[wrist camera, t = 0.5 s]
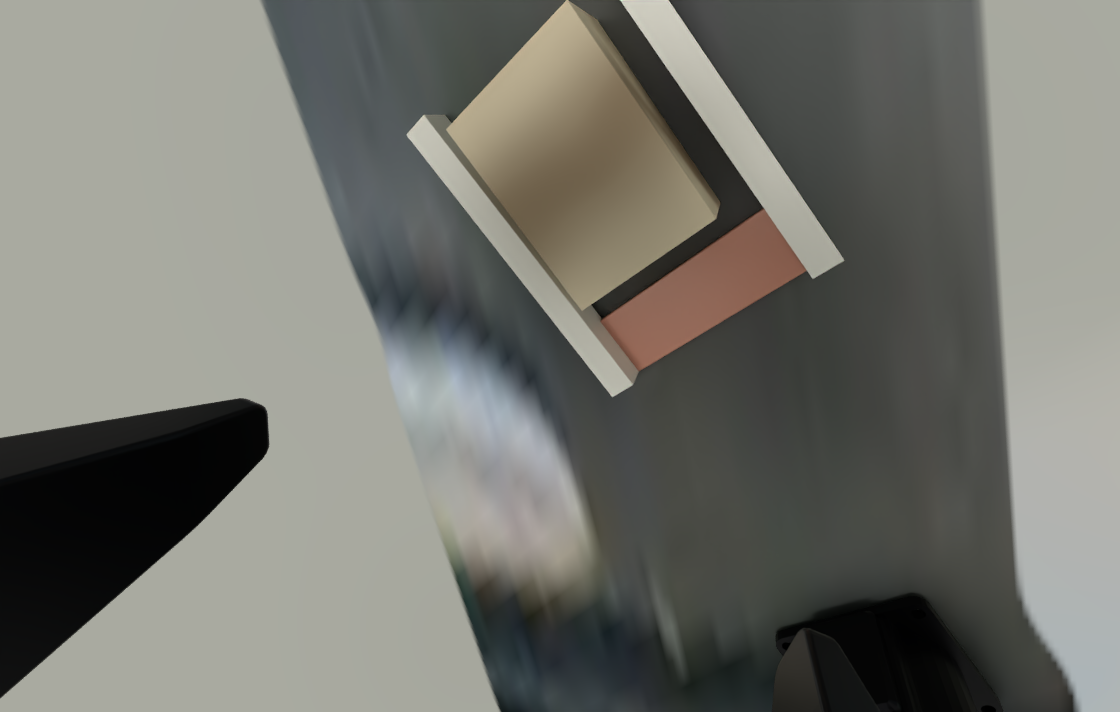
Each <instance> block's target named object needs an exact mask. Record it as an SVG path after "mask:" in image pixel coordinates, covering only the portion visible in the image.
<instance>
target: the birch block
mask: <svg viewBox="0 0 1120 712" xmlns="http://www.w3.org/2000/svg"><path fill="white" fill-rule="evenodd" d="M446 130H447V132H448V133H449V134H450V136H451V137H452V138H453V140H454V141H455V142H456V144H457V145H458V146H459V148H460V149H461V150H462V152H463V153H464V154H465V156H466V157H467V158H468V160H469V161H470V162H471V164H472V165H473V167H474V168H475V169H476V171H477V172H478V173H479V175H480V176H481V177H482V179H483V180H484V181H485V183H486V184H487V185H488V187H489V188H490V189H491V191H492V192H493V193H494V195H495V196H496V197H497V199H498V200H499V201H500V203H501V204H502V205H503V207H504V208H505V209H506V211H507V212H508V213H509V215H510V216H511V217H512V219H513V220H514V221H515V223H516V224H517V225H518V227H519V228H520V229H521V231H522V232H523V233H524V235H525V236H526V237H527V239H528V240H529V241H530V243H531V244H532V245H533V247H534V248H535V249H536V251H537V252H538V253H539V255H540V256H541V257H542V259H543V260H544V261H545V263H546V264H547V265H548V267H549V268H550V269H551V271H552V272H553V273H554V275H555V276H556V277H557V279H558V280H559V281H560V283H561V284H562V285H563V287H564V288H565V289H566V291H567V292H568V293H569V295H570V296H571V297H572V299H573V300H574V301H575V303H576V304H577V305H578V307H579V308H580V309H581V311H583V310H584V309H586V308H587V307H588V306H590V305H591V304H593V303H594V302H596V301H597V300H599V299H600V298H602V297H603V296H605V295H606V294H607V293H609V292H610V291H612V290H613V289H615V288H616V287H618V286H619V285H621V284H622V283H623V282H625V281H626V280H628V279H629V278H631V277H632V276H634V275H635V274H637V273H638V272H640V271H641V270H642V269H644V268H645V267H647V266H648V265H650V264H651V263H653V262H654V261H656V260H657V259H658V258H660V257H661V256H663V255H664V254H666V253H667V252H669V251H670V250H672V249H673V248H675V247H676V246H677V245H679V244H680V243H682V242H683V241H685V240H686V239H688V238H689V237H691V236H692V235H693V234H695V233H696V232H698V231H699V230H701V229H702V228H704V227H705V226H707V225H708V224H710V223H711V222H712V221H714V220H715V219H716V218H717V214H718V210H719V207H720V203H721V202H720V201H719V199H718V198H717V197H716V195H715V194H714V192H713V191H712V189H711V188H710V186H709V185H708V183H707V182H706V180H705V179H704V177H703V176H702V174H701V173H700V171H699V170H698V168H697V167H696V165H695V164H694V162H693V161H692V159H691V158H690V157H689V155H688V154H687V152H686V151H685V149H684V148H683V146H682V145H681V143H680V142H679V140H678V139H677V137H676V136H675V134H674V133H673V131H672V130H671V128H670V127H669V125H668V124H667V122H666V121H665V119H664V118H663V117H662V115H661V114H660V112H659V111H658V109H657V108H656V106H655V105H654V103H653V102H652V100H651V99H650V97H649V96H648V94H647V93H646V91H645V90H644V88H643V87H642V85H641V84H640V82H639V81H638V80H637V78H636V77H635V75H634V74H633V72H632V71H631V69H630V68H629V66H628V65H627V63H626V62H625V60H624V59H623V57H622V56H621V54H620V53H619V51H618V50H617V48H616V47H615V45H614V44H613V42H612V41H611V40H610V38H609V37H608V35H607V34H606V32H605V31H604V29H603V28H602V26H601V25H600V23H599V22H598V20H597V19H595V18H594V17H592V16H591V15H589V14H588V13H586V12H585V11H583V10H582V9H580V8H579V7H577V6H576V5H574V4H573V3H571V2H570V1H568V0H566V1H565V2H564V4H563V5H562V6H561V7H560V8H559V9H558V10H557V11H556V12H555V13H554V14H553V15H552V16H551V17H550V19H549V20H548V21H547V22H546V23H545V24H544V25H543V26H542V27H541V28H540V29H539V30H538V31H537V32H536V34H535V35H534V36H533V37H532V38H531V39H530V40H529V41H528V42H527V43H526V44H525V45H524V46H523V48H522V49H521V50H520V51H519V52H518V53H517V54H516V55H515V56H514V57H513V58H512V59H511V60H510V61H509V63H508V64H507V65H506V66H505V67H504V68H503V69H502V70H501V71H500V72H499V73H498V74H497V75H496V76H495V78H494V79H493V80H492V81H491V82H490V83H489V84H488V85H487V86H486V87H485V88H484V89H483V90H482V91H481V93H480V94H479V95H478V96H477V97H476V98H475V99H474V100H473V101H472V102H471V103H470V104H469V105H468V107H467V108H466V109H465V110H464V111H463V112H462V113H461V114H460V115H459V116H458V117H457V118H456V119H455V120H454V122H453V123H452V124H451V125H450V126H449V127H448V128H447V129H446Z"/></svg>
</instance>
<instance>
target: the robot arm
mask: <svg viewBox="0 0 1120 712" xmlns="http://www.w3.org/2000/svg"><path fill="white" fill-rule="evenodd" d="M268 448H269V431H268V414H267V411H266V409H265V407H264V406H262V405H260V404H258V403H255V402H253V401H250V400H248V399H243V398H239V399H233V400H227V401H221V402H215V403H208V404H202V405H197V406H190V407H184V408H178V409H172V410H166V411H160V412H154V413H148V414H143V415H136V416H130V417H124V418H118V419H112V420H106V421H100V422H94V423H89V424H82V425H76V426H70V427H64V428H57V429H52V430H46V431H40V432H33V433H27V434H21V435H15V436H10V437H3V438H0V698H1V697H2V696H4V695H5V694H6V693H7V692H8V691H9V690H10V689H11V688H13V687H14V686H15V685H16V684H17V683H18V682H20V681H21V680H22V679H23V678H24V677H25V676H27V675H28V674H29V673H30V672H31V671H32V670H33V669H35V668H36V667H37V666H38V665H39V664H40V663H41V662H43V661H44V660H45V659H46V658H47V657H48V656H49V655H51V654H52V653H53V652H54V651H55V650H56V649H57V648H59V647H60V646H61V645H62V644H63V643H64V642H65V641H67V640H68V639H69V638H70V637H71V636H72V635H74V634H75V633H76V632H77V631H78V630H79V629H80V628H82V626H84V625H85V624H86V623H87V622H88V621H90V620H91V619H92V618H93V617H94V616H95V615H96V614H97V613H99V612H100V611H101V610H102V609H103V608H104V607H106V606H107V605H108V604H109V603H110V602H111V601H112V600H114V599H115V598H116V597H117V596H118V595H119V594H120V593H122V592H123V591H124V590H125V589H126V588H127V587H129V586H130V585H131V584H132V583H133V582H134V581H135V580H137V578H139V577H140V576H141V575H142V574H143V573H144V572H146V571H147V570H148V569H149V568H150V567H151V566H152V565H154V564H155V563H156V562H157V561H158V560H159V559H160V558H162V557H163V556H164V555H165V554H166V553H167V552H169V551H170V550H171V549H172V548H173V547H174V546H175V545H177V544H178V543H179V542H180V541H181V540H182V539H183V538H185V537H186V536H187V535H188V534H189V533H190V532H191V531H192V530H193V529H194V528H196V527H197V526H198V525H199V524H200V523H201V522H202V521H203V520H204V519H205V518H206V517H207V516H208V515H209V514H210V513H211V512H212V510H214V509H215V508H216V507H217V505H218V504H219V503H220V502H221V501H222V500H223V499H224V498H225V497H226V496H227V495H228V494H229V493H230V492H231V491H232V490H233V489H234V488H235V487H236V486H237V485H238V484H239V483H240V482H241V481H242V479H243V478H244V477H245V476H246V475H247V474H248V473H249V472H250V471H251V470H252V469H253V468H254V467H255V466H256V465H257V464H258V463H259V462H260V461H261V460H262V459H263V457H264V456H265V454H266V453H267V450H268ZM914 609H920V610H919V611H914ZM786 642H789V643H786ZM776 647H777V649H778V650H779V651H780V653H781V654H782V655H783V658H782V659H781V661H780V663H779V665H778V668H777V671H776V675H775V682H774V694H773V705H772V712H1003V708H1002V706H1001V704H1000V701H999V699H998V697H997V696H996V695H995V693H994V692H993V690H992V689H991V688H990V686H989V685H988V684H987V682H986V681H985V679H984V678H983V677H982V675H981V674H980V673H979V671H978V670H977V669H976V667H975V666H974V664H973V663H972V662H971V660H970V659H969V658H968V656H967V655H966V653H965V652H964V651H963V649H962V648H961V647H960V645H959V644H958V642H957V641H956V640H955V638H954V637H953V636H952V634H951V633H950V632H949V630H948V629H947V627H946V626H945V625H944V623H943V622H942V621H941V619H940V618H939V616H938V615H937V614H936V612H935V611H934V610H933V608H932V607H931V605H930V604H929V603H928V602H927V601H926V600H925V599H923V598H920V597H915V596H913V597H907V598H903V599H899V600H896V601H892V602H888V603H884V604H881V605H877V606H873V607H869V608H866V609H862V610H858V611H854V612H851V613H847V614H843V615H839V616H835V617H832V618H828V619H824V620H820V621H817V622H813V623H809V624H805V625H802V626H798V627H794V628H790V629H787V630H783V631H780V632H778V633H777V634H776Z"/></svg>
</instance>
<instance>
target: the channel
mask: <svg viewBox="0 0 1120 712" xmlns="http://www.w3.org/2000/svg"><path fill="white" fill-rule="evenodd" d="M620 1H621V2H622V4H623V5H624V7H625V8H626V9H627V11H628V12H629V14H630V15H631V17H632V18H633V20H634V21H635V22H636V24H637V25H638V27H639V28H640V30H641V31H642V33H643V34H644V36H645V37H646V38H647V40H648V41H649V43H650V44H651V46H652V47H653V49H654V50H655V51H656V53H657V54H658V56H659V57H660V59H661V60H662V62H663V63H664V64H665V66H666V67H667V69H668V70H669V72H670V73H671V75H672V76H673V77H674V79H675V80H676V82H677V83H678V85H679V86H680V88H681V89H682V91H683V92H684V93H685V95H686V96H687V98H688V99H689V101H690V102H691V104H692V105H693V106H694V108H695V109H696V111H697V112H698V114H699V115H700V117H701V118H702V119H703V121H704V122H705V124H706V125H707V127H708V128H709V130H710V131H711V132H712V134H713V135H714V137H715V138H716V140H717V141H718V143H719V144H720V146H721V147H722V148H723V150H724V151H725V153H726V154H727V156H728V157H729V159H730V160H731V161H732V163H733V164H734V166H735V167H736V169H737V170H738V172H739V173H740V174H741V176H742V177H743V179H744V180H745V182H746V183H747V185H748V186H749V187H750V189H751V190H752V192H753V193H754V195H755V196H756V198H757V199H758V201H759V202H760V203H761V205H762V206H763V208H762V209H761V210H759V211H758V212H757V213H755V214H754V215H752V216H751V217H749V218H748V219H746V220H745V221H743V222H742V223H741V224H739V225H738V226H736V227H735V228H733V229H732V230H730V231H729V232H727V233H726V234H725V235H723V236H722V237H720V238H719V239H717V240H716V241H714V242H713V243H711V244H710V245H709V246H707V247H706V248H704V249H703V250H701V251H700V252H698V253H697V254H695V255H694V256H693V257H691V258H690V259H688V260H687V261H685V262H684V263H682V264H681V265H679V266H678V267H677V268H675V269H674V270H672V271H671V272H669V273H668V274H666V275H665V276H664V277H662V278H661V279H659V280H658V281H656V282H655V283H653V284H652V285H650V286H649V287H648V288H646V289H645V290H643V291H642V292H640V293H639V294H637V295H636V296H634V297H633V298H632V299H630V300H629V301H627V302H626V303H624V304H623V305H621V306H620V307H618V308H617V309H616V310H614V311H613V312H611V313H610V314H608V315H607V316H605V317H604V318H601V317H600V316H599V314H598V313H597V312H596V310H595V309H594V308H593V306H592V305H590V306H588V307H587V308H586V309H584V310H583V311H581V309H580V308H579V307H578V305H577V304H576V303H575V301H574V300H573V299H572V297H571V296H570V295H569V293H568V292H567V291H566V289H565V288H564V287H563V285H562V284H561V283H560V281H559V280H558V279H557V277H556V276H555V275H554V273H553V272H552V271H551V269H550V268H549V267H548V265H547V264H546V263H545V261H544V260H543V259H542V257H541V256H540V255H539V253H538V252H537V251H536V249H535V248H534V247H533V245H532V244H531V243H530V241H529V240H528V239H527V237H526V236H525V235H524V233H523V232H522V231H521V229H520V228H519V227H518V225H517V224H516V223H515V221H514V220H513V219H512V217H511V216H510V215H509V213H508V212H507V211H506V209H505V208H504V207H503V205H502V204H501V203H500V201H499V200H498V199H497V197H496V196H495V195H494V193H493V192H492V191H491V189H490V188H489V187H488V185H487V184H486V183H485V181H484V180H483V179H482V177H481V176H480V175H479V173H478V172H477V171H476V169H475V168H474V167H473V165H472V164H471V162H470V161H469V160H468V158H467V157H466V156H465V154H464V153H463V152H462V150H461V149H460V148H459V146H458V145H457V144H456V142H455V141H454V140H453V138H452V137H451V136H450V134H449V133H448V132H447V130H446V129H447V128H448V127H449V126H450V125H451V124H452V123H451V122H450V120H449V119H448V118H447V117H446V115H423V116H422V117H421V118H420V120H419V121H418V122H417V123H416V124H415V125H414V127H413V128H412V129H411V130H410V131H409V133H408V134H407V136H408V138H409V139H410V140H411V141H412V143H413V144H414V145H415V147H416V148H417V149H418V150H419V152H420V153H421V154H422V155H423V157H424V158H425V159H426V161H427V162H428V163H429V164H430V166H431V167H432V168H433V169H434V171H435V172H436V173H437V175H438V176H439V177H440V178H441V180H442V181H443V182H444V183H445V185H446V186H447V187H448V189H449V190H450V191H451V192H452V194H453V195H454V196H455V197H456V199H457V200H458V201H459V203H460V204H461V205H462V206H463V208H464V209H465V210H466V211H467V213H468V214H469V215H470V217H471V218H472V219H473V220H474V222H475V223H476V224H477V225H478V227H479V228H480V229H481V231H482V232H483V233H484V234H485V236H486V237H487V238H488V239H489V241H490V242H491V243H492V245H493V246H494V247H495V248H496V250H497V251H498V252H499V253H500V255H501V256H502V257H503V259H504V260H505V261H506V262H507V264H508V265H509V266H510V267H511V269H512V270H513V271H514V273H515V274H516V275H517V276H518V278H519V279H520V280H521V281H522V283H523V284H524V285H525V287H526V288H527V289H528V290H529V292H530V293H531V294H532V295H533V297H534V298H535V299H536V301H537V302H538V303H539V304H540V306H541V307H542V308H543V309H544V311H545V312H546V313H547V315H548V316H549V317H550V318H551V320H552V321H553V322H554V324H555V325H556V326H557V327H558V329H559V330H560V331H561V332H562V334H563V335H564V336H565V338H566V339H567V340H568V341H569V343H570V344H571V345H572V346H573V348H574V349H575V350H576V352H577V353H578V354H579V355H580V357H581V358H582V359H583V360H584V362H585V363H586V364H587V366H588V367H589V368H590V369H591V371H592V372H593V373H594V374H595V376H596V377H597V378H598V380H599V381H600V382H601V383H602V385H603V386H604V387H605V388H606V390H607V391H608V392H609V394H610V395H611V396H612V397H613V396H615V395H617V394H619V393H620V392H622V391H624V390H625V389H627V388H629V387H630V386H632V385H633V384H634V382H635V379H636V377H637V374H638V372H639V371H640V370H642V369H644V368H645V367H647V366H649V365H650V364H652V363H654V362H655V361H657V360H659V359H660V358H662V357H664V356H665V355H667V354H669V353H670V352H672V351H674V350H675V349H677V348H679V347H680V346H682V345H684V344H685V343H687V342H689V341H690V340H692V339H694V338H695V337H697V336H699V335H700V334H702V333H704V332H705V331H707V330H709V329H710V328H712V327H714V326H715V325H717V324H719V323H720V322H722V321H724V320H725V319H727V318H729V317H730V316H732V315H734V314H735V313H737V312H739V311H740V310H742V309H744V308H745V307H747V306H749V305H750V304H752V303H754V302H755V301H757V300H759V299H760V298H762V297H764V296H765V295H767V294H769V293H770V292H772V291H774V290H775V289H777V288H779V287H780V286H782V285H784V284H785V283H787V282H789V281H790V280H792V279H794V278H795V277H797V276H799V275H800V274H802V273H804V272H805V271H808V273H809V274H810V276H811V277H812V279H814V278H816V277H817V276H819V275H821V274H822V273H824V272H826V271H827V270H829V269H831V268H833V267H834V266H836V265H838V264H839V263H841V262H843V261H844V259H843V257H842V256H841V254H840V253H839V251H838V250H837V248H836V247H835V245H834V244H833V242H832V241H831V240H830V238H829V237H828V235H827V234H826V232H825V231H824V229H823V228H822V226H821V225H820V223H819V222H818V220H817V219H816V217H815V216H814V214H813V213H812V211H811V210H810V208H809V207H808V206H807V204H806V203H805V201H804V200H803V198H802V197H801V195H800V194H799V192H798V191H797V189H796V188H795V186H794V185H793V183H792V182H791V180H790V179H789V177H788V176H787V174H786V173H785V172H784V170H783V169H782V167H781V166H780V164H779V163H778V161H777V160H776V158H775V157H774V155H773V154H772V152H771V151H770V149H769V148H768V146H767V145H766V143H765V142H764V140H763V139H762V138H761V136H760V135H759V133H758V132H757V130H756V129H755V127H754V126H753V124H752V123H751V121H750V120H749V118H748V117H747V115H746V114H745V112H744V111H743V109H742V108H741V106H740V105H739V104H738V102H737V101H736V99H735V98H734V96H733V95H732V93H731V92H730V90H729V89H728V87H727V86H726V84H725V83H724V81H723V80H722V78H721V77H720V75H719V74H718V72H717V71H716V70H715V68H714V67H713V65H712V64H711V62H710V61H709V59H708V58H707V56H706V55H705V53H704V52H703V50H702V49H701V47H700V46H699V44H698V43H697V41H696V40H695V38H694V37H693V36H692V34H691V33H690V31H689V30H688V28H687V27H686V25H685V24H684V22H683V21H682V19H681V18H680V16H679V15H678V13H677V12H676V10H675V9H674V7H673V6H672V4H671V3H670V2H669V0H620Z"/></svg>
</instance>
